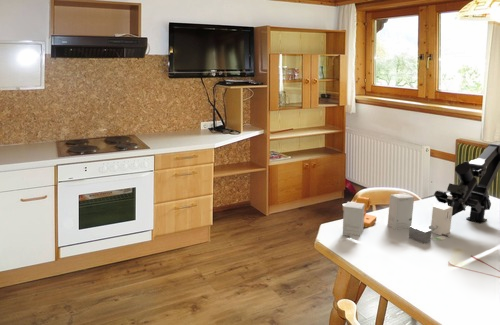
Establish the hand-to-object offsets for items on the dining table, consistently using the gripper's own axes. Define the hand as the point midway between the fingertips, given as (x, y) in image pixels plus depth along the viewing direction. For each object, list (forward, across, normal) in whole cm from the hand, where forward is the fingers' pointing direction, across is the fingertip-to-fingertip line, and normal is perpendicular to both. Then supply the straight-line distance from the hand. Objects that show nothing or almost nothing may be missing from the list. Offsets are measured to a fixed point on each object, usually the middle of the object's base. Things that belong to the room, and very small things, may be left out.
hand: (447, 217), depth 184 cm
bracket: (+19, -26, -9) cm, 34 cm away
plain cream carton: (+8, +1, 0) cm, 8 cm away
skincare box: (+14, -14, -4) cm, 20 cm away
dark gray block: (+17, 0, -9) cm, 19 cm away
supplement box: (+29, -21, -18) cm, 40 cm away
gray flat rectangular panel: (+12, 0, -3) cm, 13 cm away
